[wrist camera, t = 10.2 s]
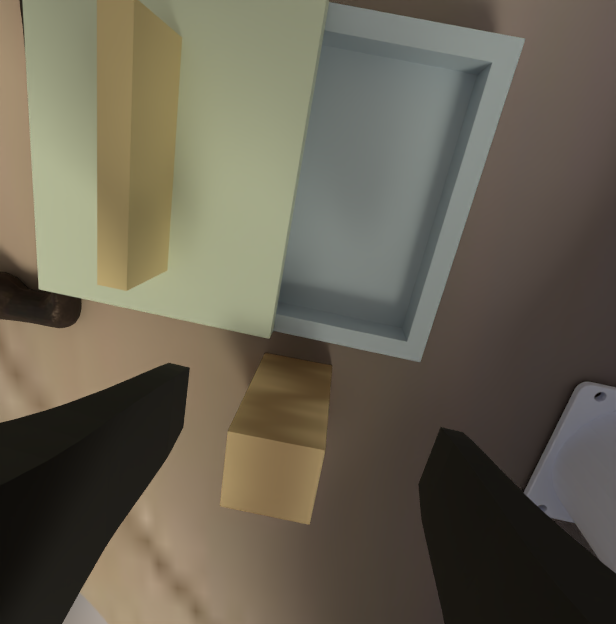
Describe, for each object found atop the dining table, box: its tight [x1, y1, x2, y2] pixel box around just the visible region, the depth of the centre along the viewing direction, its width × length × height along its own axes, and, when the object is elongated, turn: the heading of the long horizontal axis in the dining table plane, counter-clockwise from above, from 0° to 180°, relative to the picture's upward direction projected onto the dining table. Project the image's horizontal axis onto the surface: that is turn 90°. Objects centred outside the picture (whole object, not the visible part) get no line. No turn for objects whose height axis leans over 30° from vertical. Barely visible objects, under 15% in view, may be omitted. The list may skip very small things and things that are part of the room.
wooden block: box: [220, 353, 332, 525], centre depth 17 cm, size 4×4×6 cm
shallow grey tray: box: [273, 2, 525, 362], centre depth 16 cm, size 10×12×2 cm
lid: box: [22, 0, 329, 339], centre depth 13 cm, size 10×12×4 cm
